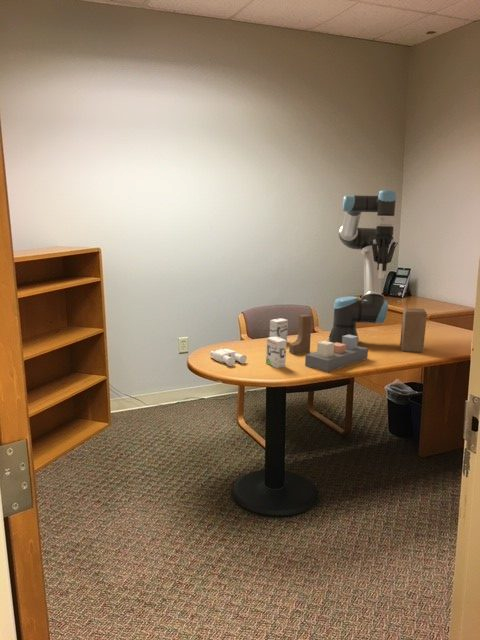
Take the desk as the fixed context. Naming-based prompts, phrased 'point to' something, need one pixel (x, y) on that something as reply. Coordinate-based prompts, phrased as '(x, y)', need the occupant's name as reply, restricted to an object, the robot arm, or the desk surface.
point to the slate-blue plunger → (350, 341)
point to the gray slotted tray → (336, 359)
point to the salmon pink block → (339, 348)
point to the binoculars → (228, 356)
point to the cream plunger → (325, 349)
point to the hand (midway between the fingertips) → (381, 277)
